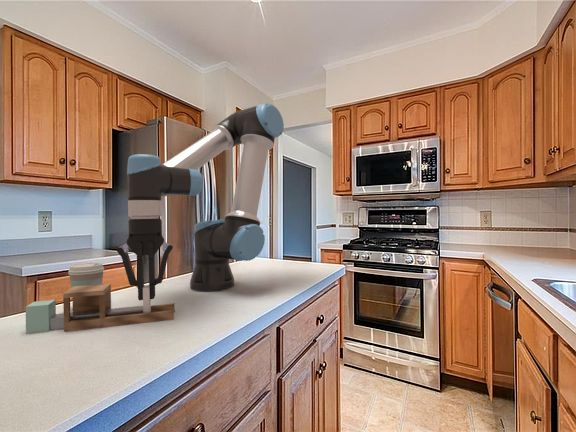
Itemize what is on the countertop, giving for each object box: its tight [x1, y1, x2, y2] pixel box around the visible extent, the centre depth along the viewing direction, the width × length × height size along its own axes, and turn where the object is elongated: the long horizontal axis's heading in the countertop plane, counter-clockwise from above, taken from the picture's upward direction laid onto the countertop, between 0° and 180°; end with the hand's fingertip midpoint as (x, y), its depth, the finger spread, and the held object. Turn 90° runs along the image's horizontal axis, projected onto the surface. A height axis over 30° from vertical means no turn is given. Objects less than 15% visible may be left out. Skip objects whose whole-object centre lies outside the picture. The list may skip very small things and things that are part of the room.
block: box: [25, 299, 57, 335], centre depth 71 cm, size 4×4×6 cm
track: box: [62, 283, 176, 332], centre depth 77 cm, size 23×7×8 cm, turn 109°
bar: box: [49, 305, 143, 332], centre depth 75 cm, size 19×3×3 cm, turn 109°
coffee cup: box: [67, 262, 105, 289], centre depth 87 cm, size 9×8×12 cm
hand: (147, 312), depth 78 cm, fingers closed
